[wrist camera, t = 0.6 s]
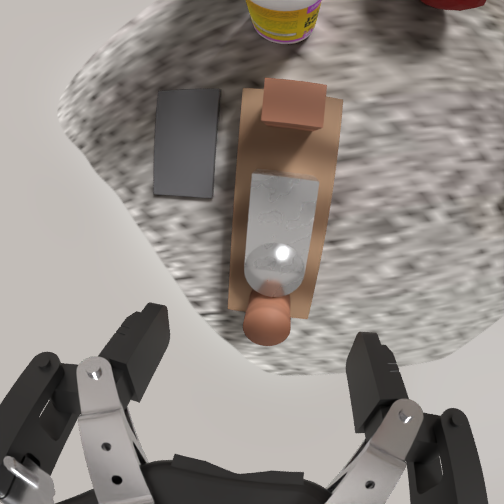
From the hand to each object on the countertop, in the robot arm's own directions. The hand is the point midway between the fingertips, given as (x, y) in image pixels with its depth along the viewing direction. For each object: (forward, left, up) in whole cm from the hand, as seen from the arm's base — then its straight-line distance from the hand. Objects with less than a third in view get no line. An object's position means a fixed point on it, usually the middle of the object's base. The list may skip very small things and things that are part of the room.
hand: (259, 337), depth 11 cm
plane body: (-1, 0, -21) cm, 21 cm away
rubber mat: (-7, -11, -21) cm, 24 cm away
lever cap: (+1, 0, -17) cm, 17 cm away
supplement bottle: (-22, -1, -21) cm, 30 cm away
